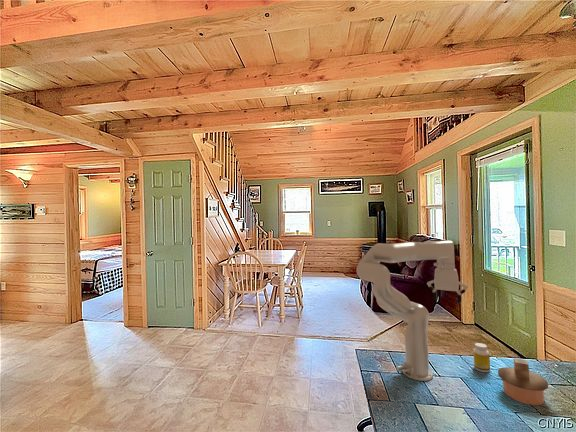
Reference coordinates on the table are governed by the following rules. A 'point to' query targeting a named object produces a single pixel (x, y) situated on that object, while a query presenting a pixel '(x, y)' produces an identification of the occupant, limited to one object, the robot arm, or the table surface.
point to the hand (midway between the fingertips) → (447, 301)
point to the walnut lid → (522, 376)
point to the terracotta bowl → (524, 394)
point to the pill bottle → (481, 358)
